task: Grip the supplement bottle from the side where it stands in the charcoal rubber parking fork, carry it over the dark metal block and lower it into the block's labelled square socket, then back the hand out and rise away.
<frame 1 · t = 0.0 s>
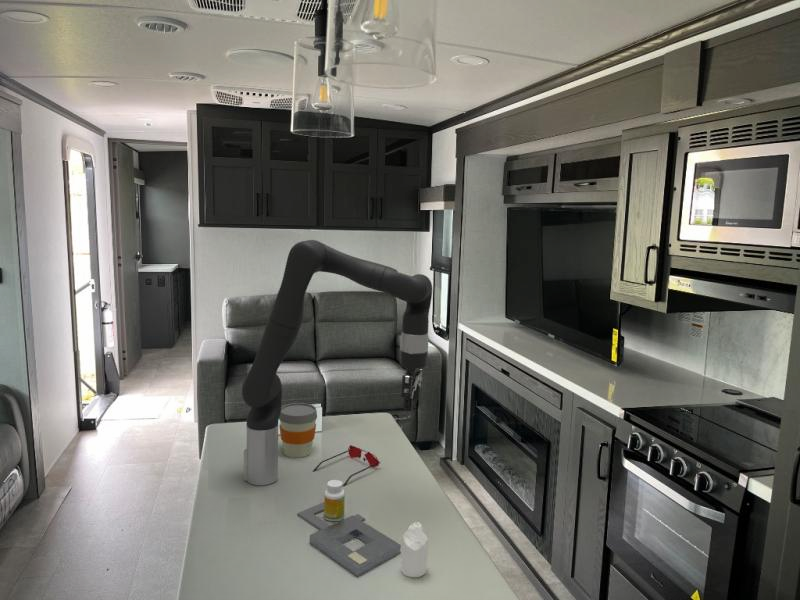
hand: (411, 405, 166), 29 cm above the table, tool pointing down, fingers open, 8 cm apart
glasses: (346, 471, 190), on the table
supplement bottle: (334, 517, 163), on the table
socket block: (354, 547, 149), on the table
white plastic bottle: (413, 570, 142), on the table
parking fork: (334, 516, 163), on the table
reusable coffee cup: (297, 452, 202), on the table
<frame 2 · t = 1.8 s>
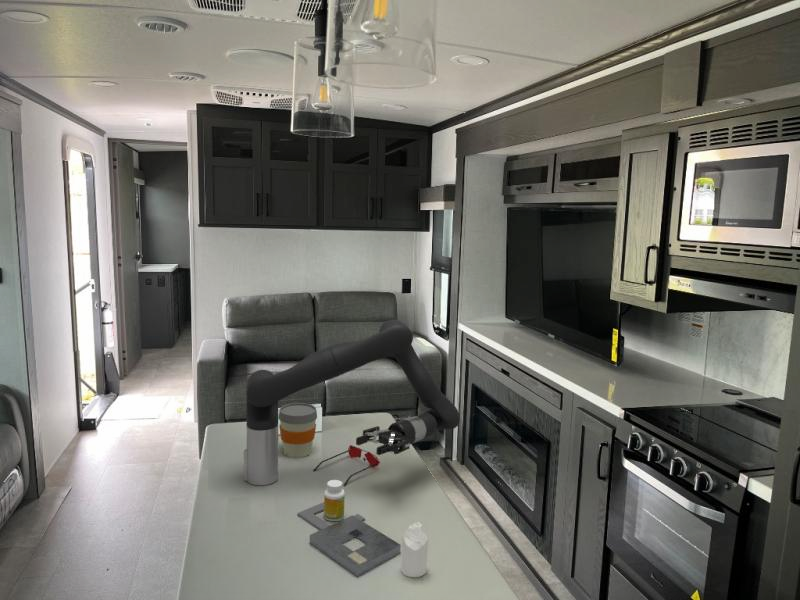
hand: (366, 446, 168), 17 cm above the table, tool horizontal, fingers open, 8 cm apart
nothing on the table moved.
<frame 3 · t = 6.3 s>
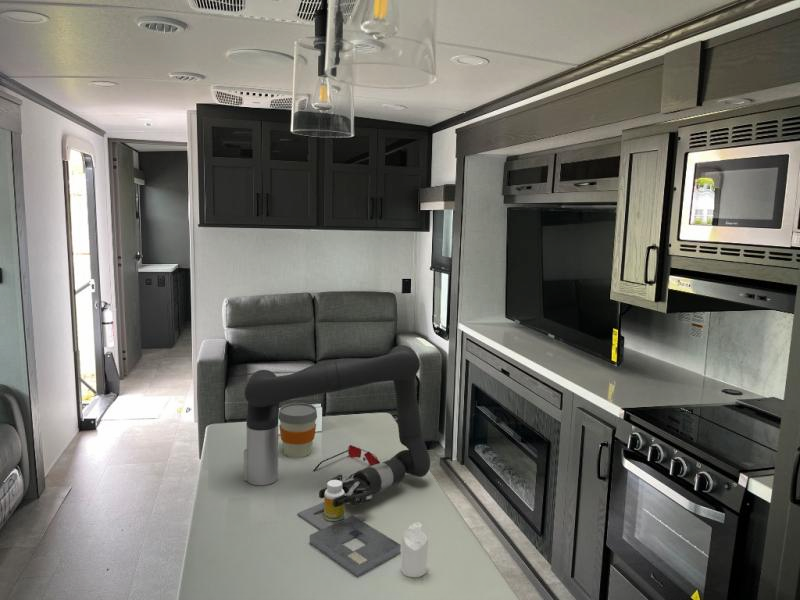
hand: (327, 498, 160), 6 cm above the table, tool horizontal, fingers closed on supplement bottle, 5 cm apart
supplement bottle: (334, 517, 163), on the table, touching gripper
everything else where it was.
when the fingers open (7 cm above the table, at t = 12.8 s): supplement bottle drops 1 cm, on the table.
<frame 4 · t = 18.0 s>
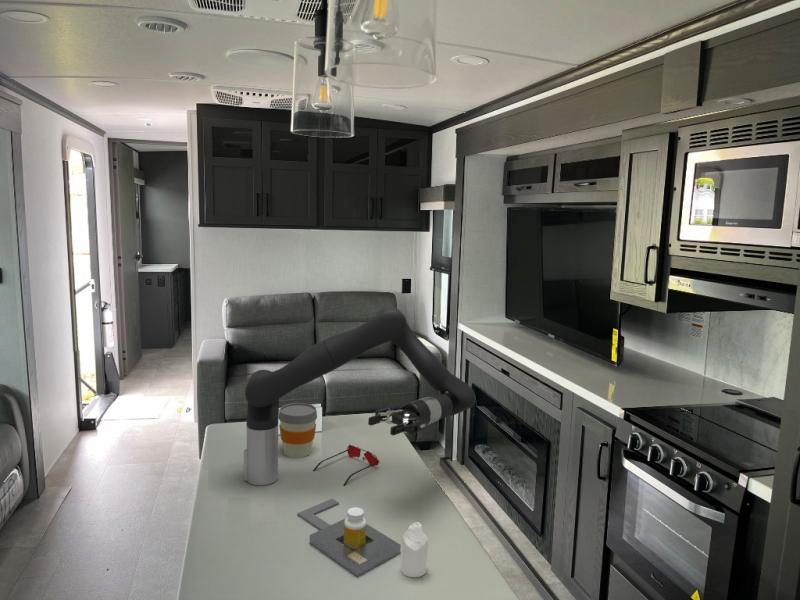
hand: (380, 426, 159), 26 cm above the table, tool horizontal, fingers open, 8 cm apart
supplement bottle: (354, 548, 149), on the table
everything else where it was.
at the end: supplement bottle 0.2 cm off-centre on the socket block, point 0.0 cm above the socket block's base; supplement bottle tilted 0°; the gripper is holding nothing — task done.
